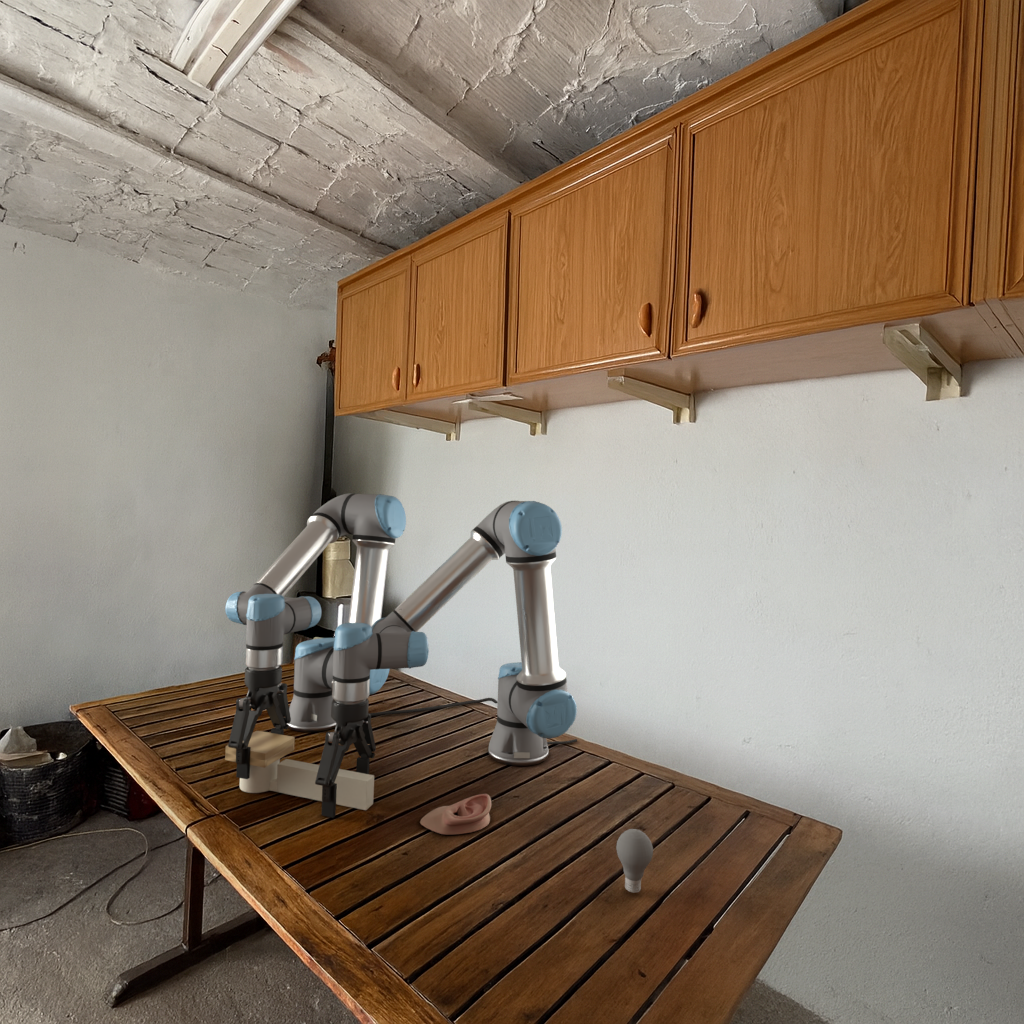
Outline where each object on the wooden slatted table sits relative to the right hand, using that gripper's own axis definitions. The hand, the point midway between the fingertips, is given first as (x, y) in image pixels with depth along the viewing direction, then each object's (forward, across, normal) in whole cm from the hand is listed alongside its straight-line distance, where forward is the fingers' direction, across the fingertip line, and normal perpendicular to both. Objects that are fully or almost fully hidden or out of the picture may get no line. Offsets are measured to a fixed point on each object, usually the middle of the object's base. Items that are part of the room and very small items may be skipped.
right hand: (345, 801), depth 132 cm
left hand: (-3, 0, -22) cm, 22 cm away
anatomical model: (0, -1, +24) cm, 24 cm away
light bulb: (0, +9, +60) cm, 61 cm away
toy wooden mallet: (0, 0, -10) cm, 10 cm away
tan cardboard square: (-6, 0, -22) cm, 22 cm away
